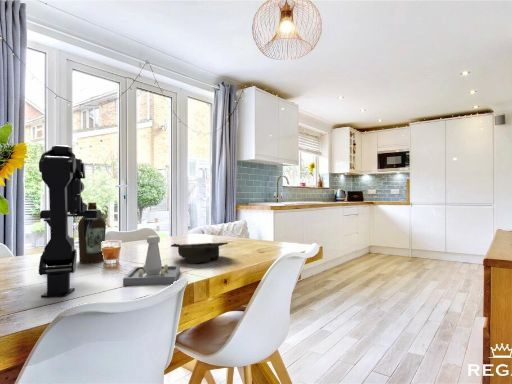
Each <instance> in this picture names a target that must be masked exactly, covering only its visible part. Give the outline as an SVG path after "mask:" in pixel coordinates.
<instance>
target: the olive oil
mask: <svg viewBox="0 0 512 384" xmlns="http://www.w3.org/2000/svg"><path fill="white" fill-rule="evenodd" d="M87 210H98V209H97V202H88V203H87ZM84 219H86V217H81V218H80V219H79V221H78V224H77V233H78V234H77V235H78V257H79V259H78V260H79V263H80V264H85V265H86V264H89V265H90V264H96V263H101V262H104V261H103V255H102V251H101V242H102V241H105V242H106V229H107V227H106V226H107V225H106V224H107V223H106V220H105V219H104V217H103V216H102V217H100V218H98V220H95V221H94V222H93V223H92V225H91V227H90V230H89V232H88V235H87V238H85V239H84V235H83V220H84Z"/></svg>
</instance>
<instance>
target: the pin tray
mask: <svg viewBox="0 0 512 384" xmlns="http://www.w3.org/2000/svg"><path fill="white" fill-rule="evenodd" d="M144 267H145V264H143V266H135V267H134V268H132V269H131V270H130V271H129V272H128V273H127V274H126V275H125V276H124V277H123V278H122V286H132V285H133V286H140V285H141V286H142V285H168V284H169V285H172V283H173V282H174V281H176V282H177V280H178V277H179V275H180V272H181V266H180V265H168V263H166V264H165V263H164V265H162V269H161V271H160V274H157V275H147V273H146V271H145V268H144Z"/></svg>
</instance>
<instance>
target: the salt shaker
mask: <svg viewBox="0 0 512 384" xmlns="http://www.w3.org/2000/svg"><path fill="white" fill-rule="evenodd" d="M160 242H161V239H160V236H159V235H149V236H148V237H146V243H147V244H148V246H147V251H146V258H145V261H144V263H145V264H144V265H145V267H144V268H145V271H146V273H147V275H157V274H160V271H161V269H162V266H163V263H162V260H161V253H160V246H159V243H160Z"/></svg>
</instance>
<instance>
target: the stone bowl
mask: <svg viewBox="0 0 512 384" xmlns="http://www.w3.org/2000/svg"><path fill="white" fill-rule="evenodd" d="M228 244H229V242H203V243H199V242H198V243H184V244H183V243H182V244H179V243H173V244H171V245H170V248H171V247H173V248H177V250H178V251H177V252H178V253H177V254H178V255H179V256H180V257H181V258H184V259H186V263H188V264H189V263H190V265H191V264H192V263H193V264H194V265H196V263H197V264H201V263H202V262H203V263H204V262H205V263H207V262H209V261H211V260H212V261H216V260H219V258H220V247H222V246H224V245H228Z"/></svg>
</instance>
